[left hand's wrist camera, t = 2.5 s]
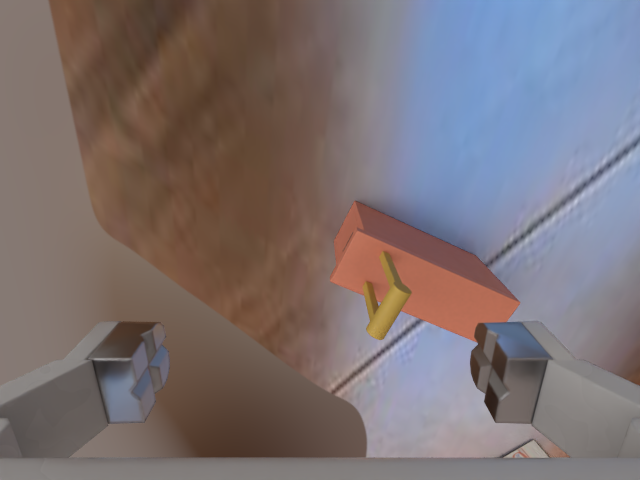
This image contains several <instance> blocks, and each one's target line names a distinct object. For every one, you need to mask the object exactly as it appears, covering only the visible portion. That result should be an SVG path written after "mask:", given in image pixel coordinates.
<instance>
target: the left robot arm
mask: <svg viewBox="0 0 640 480" xmlns="http://www.w3.org/2000/svg"><path fill="white" fill-rule="evenodd" d="M165 338H166V334H165V329H164V325H163V324H162V323H161V322H124V321H123V322H121V321H104V322H100V323H98V324H97V325H96V326H95V327H94V328H93V329H92V330H91V331H90V332H89V333H88V334H87V335H86V336H85V337H84V338H83V339H82V341H81V342H80V343H79V344H78V345H77V346H76V347H75V348H74V349H73V350H72V351H71V352H70V353H69V354H68V355H67V356H66V357H65V358H64V359H63V360H55V361H53V362H51V363H49V364H46V365H44V366H42V367H40V368H38V369H36V370H34V371H32V372H29V373H27V374H25V375H23V376H21V377H19V378H16V379H14V380H12V381H10V382H8V383H6V384H4V385H2V386H0V480H640V386H638V385H636V384H634V383H632V382H630V381H628V380H626V379H623V378H621V377H619V376H617V375H615V374H613V373H611V372H608V371H606V370H604V369H602V368H600V367H598V366H596V365H593V364H591V363H589V362H587V361H585V360H577V359H576V358H575V357H574V356H573V355H572V354H571V353H570V352H569V351H568V350H567V349H566V348H565V347H564V346H563V345H562V344H561V343H560V341H559V340H558V339H557V338H556V337H555V336H554V335H553V334H552V333H551V332H550V331H549V330H548V329H547V328H546V327H545V326H544V325H543V324H542V323H540V322H538V321H525V322H494V323H478V324H477V326H476V328H475V333H474V338H475V339H476V341H477V343H478V345H477V346H476V347H475V348H474V349H473V350H472V351H471V359H470V367H471V374H472V378H473V381H474V383H475V385H476V387H477V389H479V390H480V391H482V392H483V393H485V400H484V402H485V404H486V406H487V408H488V410H489V412H490V413H491V415H492V417H493V419H494V421H495V423H523V424H532V426H533V427H534V428H535V429H537V430H538V431H539V432H540V433H542V434H543V435H544V436H545V437H547V438H548V439H549V440H550V441H552V442H553V443H554V444H555V445H557V446H558V447H559V448H560V449H561V450H563V451H564V452H565V453H566V454H568V455H569V456H570V457H571V458H69V457H70V456H71V455H72V454H74V453H75V452H76V451H77V450H79V449H80V448H81V447H82V446H84V445H85V444H86V443H87V442H88V441H90V440H91V439H92V438H94V437H95V436H96V435H97V434H98V433H100V432H101V431H102V430H103V429H105V428H106V427H107V426H108V424H115V423H145V421H146V419H147V417H148V415H149V413H150V412H151V410H152V408H153V406H154V404H155V402H156V400H155V393H157V392H158V391H160V390H161V389H162V388H163V387H164V385H165V383H166V381H167V378H168V373H169V369H170V358H169V351H168V350H167V349H166V348H165V347H164V346H163V345H162V343H163V341H164V339H165Z"/></svg>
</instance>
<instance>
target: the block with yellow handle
mask: <svg viewBox="0 0 640 480" xmlns="http://www.w3.org/2000/svg"><path fill="white" fill-rule="evenodd" d="M330 282H332V283H335V284H337V285H340V286H342V287H344V288H347V289H349V290H352V291H354V292H357V293H359V294H361V295H364V296H365V301H366V305H367V309H368V314H369V318H370V323H369V324H368V326H367V328H366V330H367V332H368V333H369V334H370V335H371V336H372V337H374V338H375V339H378V340H382V339H384V337H385V336H386V334H387V332H388V331H389V329H390V328H391V326H392V324H393V323H394V321H395V319H396V318H397V316H398V315H399V313H400V311H402V312H405V313H407V314H410V315H412V316H415V317H417V318H419V319H422V320H424V321H427V322H429V323H431V324H434V325H436V326H439V327H441V328H444V329H446V330H448V331H451V332H453V333H456V334H458V335H460V336H463V337H465V338H468V339H470V340H473V341H475V342H477V341H476V339H475V338H474V333H475V328H476V326H477V324H478V323H494V322H507V321H508V319H509V318H510V316H511V315H512V314H513V312H514V311H515V310H516V308H517V307H518V306H519V304H520V302H519V300H518V299H517V298H516V297H513V296H511V295H509V294H506V293H504V292H502V291H500V290H497V289H495V288H493V287H491V286H488V285H486V284H484V283H482V282H479V281H477V280H475V279H473V278H470V277H468V276H466V275H464V274H461V273H459V272H457V271H455V270H452V269H450V268H448V267H446V266H443V265H441V264H439V263H437V262H434V261H432V260H430V259H428V258H425V257H423V256H421V255H418V254H416V253H414V252H412V251H409V250H407V249H405V248H403V247H400V246H398V245H396V244H394V243H391V242H389V241H387V240H385V239H382V238H380V237H378V236H376V235H373V234H371V233H369V232H367V231H364V230H362V229H360V228H358V227H356V228H355V230H354V232H353V234H352V236H351V238H350V240H349V242H348V244H347V246H346V247H345V249H344V251H343V253H342V255H341V257H340V259H339V261H338V263H337V265H336V267H335V268H334V270H333V272H332V274H331V276H330ZM377 301H378V302H381V304H380V306H378V303H377Z"/></svg>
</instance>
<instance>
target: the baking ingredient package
mask: <svg viewBox="0 0 640 480" xmlns="http://www.w3.org/2000/svg"><path fill="white" fill-rule="evenodd" d="M503 458H549V457H548V455H547V454H546V453H545V452H544V451H543V450H542V449H541V447H540V446H539V445H538V444H537V443H536V442H535V441H534V440H532V441H531V442H529V443H527V444H526V445H524V446H522V447H520V448H519V449H517V450H515V451H514V452H512V453H510V454H508V455H507V456H505V457H503Z"/></svg>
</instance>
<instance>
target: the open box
mask: <svg viewBox="0 0 640 480" xmlns="http://www.w3.org/2000/svg"><path fill="white" fill-rule="evenodd" d="M356 227H358V228H360V229H362V230H364V231H367V232H369V233H371V234H373V235H376V236H378V237H380V238H382V239H385V240H387V241H389V242H391V243H394V244H396V245H398V246H400V247H403V248H405V249H407V250H409V251H412V252H414V253H416V254H418V255H421V256H423V257H425V258H428V259H430V260H432V261H434V262H437V263H439V264H441V265H443V266H446V267H448V268H450V269H452V270H455V271H457V272H459V273H461V274H464V275H466V276H468V277H470V278H473V279H475V280H477V281H479V282H482V283H484V284H486V285H488V286H491V287H493V288H495V289H497V290H500V291H502V292H504V293H506V294H509V295H511V296H513V297H515V296H514V295H513V294H512V293H511V292H510V291H509V290H508V289H507V288H506V287H505V286H504V285H503V284H502V283H501V282H500V280H499V279H498V278H497V277H496V276H495V275H494V274H493V273H492V272H491V271H490V270H489V269H488V268H487V267H486V266H485V265H484V264H483V263H482V262H481V260H480V259H479V258H478V257H477V256H476V255H473V254H471V253H469V252H467V251H465V250H462V249H460V248H458V247H456V246H454V245H451V244H449V243H447V242H445V241H443V240H440V239H438V238H436V237H434V236H432V235H429V234H427V233H425V232H423V231H421V230H418V229H416V228H414V227H412V226H410V225H407V224H405V223H403V222H401V221H399V220H396V219H394V218H392V217H390V216H388V215H385V214H383V213H381V212H379V211H377V210H374V209H372V208H370V207H368V206H366V205H363V204H361V203H359V202H357V201H354V203H353V205H352V207H351V209H350V211H349V213H348V214H347V216H346V218H345V220H344V222H343V224H342V226H341V228H340V230H339V232H338V234H337V236H336V238H335V240H334V246H335V256H336V265H337V263H338V261H339V259H340V257H341V255H342V253H343V251H344V249H345V247H346V246H347V244H348V242H349V240H350V238H351V236H352V234H353V232H354V230H355V228H356Z"/></svg>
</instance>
